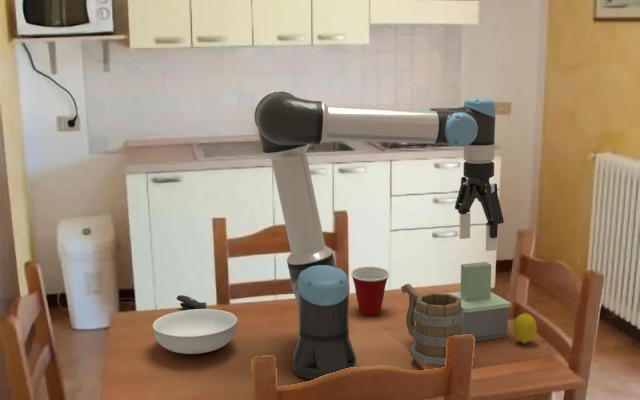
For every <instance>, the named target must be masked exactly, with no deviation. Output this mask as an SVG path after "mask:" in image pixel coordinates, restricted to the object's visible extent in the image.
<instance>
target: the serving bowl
mask: <svg viewBox="0 0 640 400" xmlns="http://www.w3.org/2000/svg"><path fill="white" fill-rule="evenodd" d="M238 321H239V320H238V317H237V316H236V315H235V314H234V313H232V312H230V311H225V310H220V309H214V308H206V309H193V310H184V309H183V310H179V311H178V310H177V311H175V312H171V313H167V314H165V315H161V316H160V317H159V318H157V319H155V320H154V321H153V323H152V330H153V335H154V337H155V339H156V341H157V342H158V344H159V345H160V346H161V347H163V348H165V350H168V351H170V352H173V353H178V354H185V355H198V354H203V353H209V352H213V351H215V350H218V349H221V348H223V347H224V346H226V345H227V344H228V343H230V341H232V339H233V337H234V336H235V334H236V332H237V328H238Z"/></svg>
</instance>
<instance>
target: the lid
mask: <svg viewBox="0 0 640 400" xmlns="http://www.w3.org/2000/svg"><path fill="white" fill-rule="evenodd" d="M491 285H492V264H490V263H488V262H487V261H483V262H482V261H481V262H471V263H462V264H461V265H460V291H455V292H447V293H444V294H451V295H454V296H456V297H458V298H460V299H461V307H462V308H463V309H464V311H463V312H464V313H467V312H475V311H483V310H491V309H499V308H507V307H508V308H511V307H512V302H510V301H508V300H506V299H505V298H503V297H501V296H499V295H497V294H496V293H493V291H492V286H491Z"/></svg>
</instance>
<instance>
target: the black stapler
mask: <svg viewBox="0 0 640 400" xmlns="http://www.w3.org/2000/svg"><path fill="white" fill-rule="evenodd" d="M175 299H176V300H177V301H179V302H181V303H180V304H179V305H180V307H181V308H182V309H183V311H184V310H193V309H207V306H208V305H207V302H206V301H205V302H204V301H203V302H199V301H197V300H196V299H194V298H193V297H190V296H188V295H184V294H183V295H182V294H180V295H177V296H176V298H175Z"/></svg>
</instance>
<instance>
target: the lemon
mask: <svg viewBox="0 0 640 400" xmlns="http://www.w3.org/2000/svg"><path fill="white" fill-rule="evenodd" d="M537 329H538V328H537V322H536V319H535V318H534V317H533V316H532V315H531V314H529V313H527V312H523V313H521V314H519V315H518V316H517V317H516V318H515V320H514V323H513V333H514V336H515V338H516V339H517V340H518V341H520V342H521V343H522V344H523V345H524V344H525V345H526V344H527V343H528V342H531V341H533V340H534V338H535V337H536V336H537V335H536V334H537V331H538V330H537Z"/></svg>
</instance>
